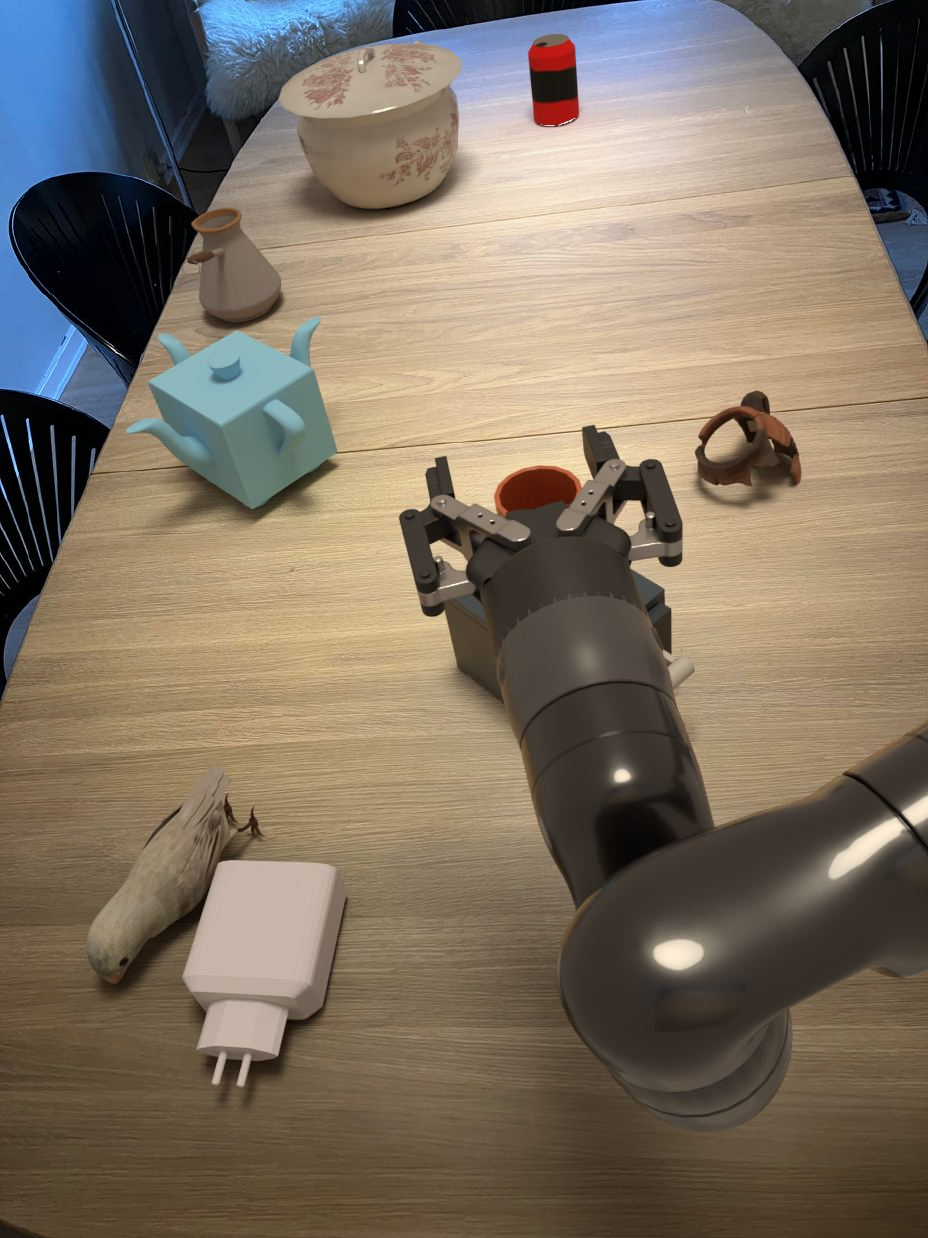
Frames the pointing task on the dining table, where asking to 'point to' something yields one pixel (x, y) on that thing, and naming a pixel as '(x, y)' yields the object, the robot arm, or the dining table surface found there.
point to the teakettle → (242, 413)
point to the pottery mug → (758, 432)
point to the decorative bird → (165, 876)
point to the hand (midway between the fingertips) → (516, 453)
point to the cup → (535, 488)
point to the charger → (262, 955)
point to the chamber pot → (378, 121)
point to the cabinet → (475, 639)
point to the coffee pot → (232, 269)
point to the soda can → (553, 79)
